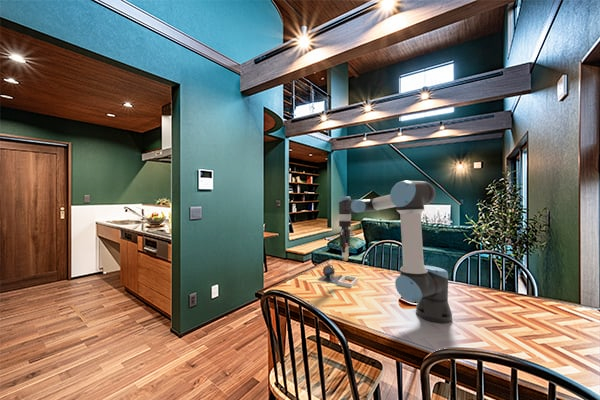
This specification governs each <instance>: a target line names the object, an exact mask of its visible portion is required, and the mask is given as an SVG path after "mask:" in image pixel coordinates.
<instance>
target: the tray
mask: <svg viewBox="0 0 600 400" xmlns="http://www.w3.org/2000/svg"><path fill="white" fill-rule="evenodd" d="M346 280H351V282H346ZM358 282H359V277H357V276H352V275H344V276H343V275H342V278H341V279H340V280H339V281H338V283H337V285H338V286H343V287H346V288H347V287H348V288H353V287H354V286H355V285H356V284H357V283H358Z"/></svg>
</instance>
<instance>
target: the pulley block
mask: <svg viewBox="0 0 600 400" xmlns="http://www.w3.org/2000/svg"><path fill="white" fill-rule="evenodd" d="M333 266H334V265H333V264H327V265H326V266H324V267H323V269H322V273H323V275H322V276H321V277H319V278H317V281H321V282H325V283H330V284H334V285H338V281H339V280H340V279H341V278H342V277H343V274H339V276H335V274H336V271H335V268H334V267H333Z"/></svg>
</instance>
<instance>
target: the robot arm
mask: <svg viewBox="0 0 600 400" xmlns="http://www.w3.org/2000/svg"><path fill="white" fill-rule="evenodd" d="M435 197H436V189H435V187H434V185H432V184H431V183H430V182H428V181H424V180H402V181H399V182H396V183H395V184H394V186H393V187H392V188H391V190H390V194H387V195H381V196H378V197H375V198H368V199H352V198H351V196H339V197H338V220H339V221H338V227H339V228H341V230H340V231H339V241H340V246H339V247H340V248H341V258H343V257H344V258H346V243H348V247H350V246H351V245H350V243H351V242H350V241H351V240H350V239H351V237H350V236H351V229H349V228H350V227H352V221H351V220H352V213H364V212H378V211H381V210H386V209H391V208H396V212H398V213H399V215H400V217H399V218H400V231H401V233H400V234H401V235H400V236H401V249H402V250H401V251H402V266H401V267H400V268H399V274H400V275H398V276H397V277H396V278H395V282H394V284H395V285H394V286H395V289H396V291H397V293H398V294H399V296H400V297H401V298H402V299H403V300H405V301H407V302H410V303H414V302H417V304H416V306H415V311H416V312H415V313H416V314H417V315H418V316H419V317H421V318H422V319H424V320H427V321H429V322H432V323H437V324H446V323H450V322H451V321H452V319H453V313H452V310H451V307H450V303H449V301H448V300H449V299H448V298H449V273H448V271H447V270H446V269H444V268H441V267H437V266H433V265H428V264H426V265H425V263H424V262H425V261H424V249H423V248H424V247H423V245H424V244H423V231H422V215H421V214H422V213H423V212H424V211H425V206H427V205H429V204H430V203H432V202H433V201H434V199H435ZM349 256H350V255H349V250H348V257H349Z"/></svg>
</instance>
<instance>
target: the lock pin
mask: <svg viewBox="0 0 600 400" xmlns="http://www.w3.org/2000/svg"><path fill="white" fill-rule="evenodd" d="M348 251H349V246H348V243H346V258H344V257H342V261H344V262H348V261H349V256H348Z"/></svg>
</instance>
